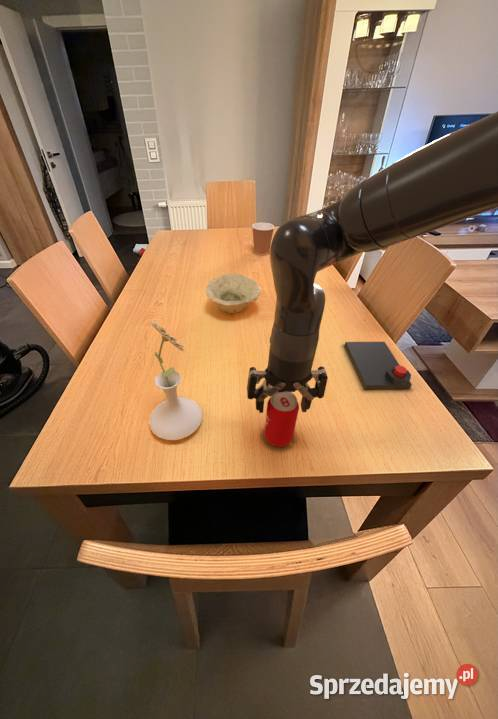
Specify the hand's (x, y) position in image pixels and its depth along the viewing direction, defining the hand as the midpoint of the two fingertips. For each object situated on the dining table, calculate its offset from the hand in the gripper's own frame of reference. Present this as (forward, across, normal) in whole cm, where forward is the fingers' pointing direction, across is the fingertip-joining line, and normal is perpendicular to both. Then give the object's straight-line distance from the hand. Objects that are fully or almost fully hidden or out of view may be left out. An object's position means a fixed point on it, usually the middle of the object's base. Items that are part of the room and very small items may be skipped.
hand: (282, 409), depth 59 cm
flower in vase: (+10, -22, +5) cm, 25 cm away
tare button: (+6, +33, +16) cm, 37 cm away
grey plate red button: (+9, +30, +22) cm, 39 cm away
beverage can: (+9, 0, 0) cm, 9 cm away
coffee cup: (+10, +5, +104) cm, 104 cm away
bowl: (+10, -9, +53) cm, 55 cm away
